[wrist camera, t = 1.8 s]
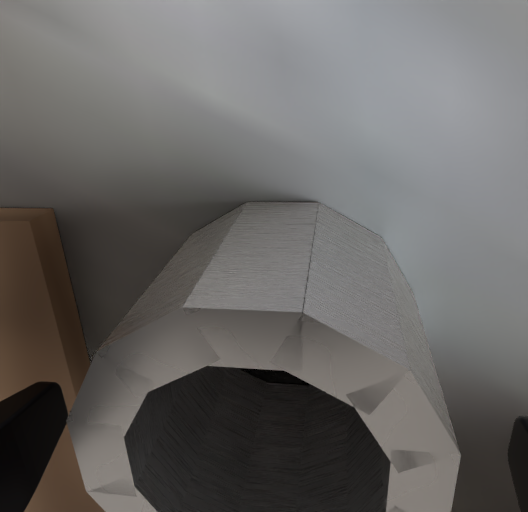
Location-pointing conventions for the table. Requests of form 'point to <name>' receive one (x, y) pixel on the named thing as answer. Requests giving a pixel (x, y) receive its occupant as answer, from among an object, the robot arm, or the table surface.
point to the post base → (42, 340)
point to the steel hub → (260, 392)
